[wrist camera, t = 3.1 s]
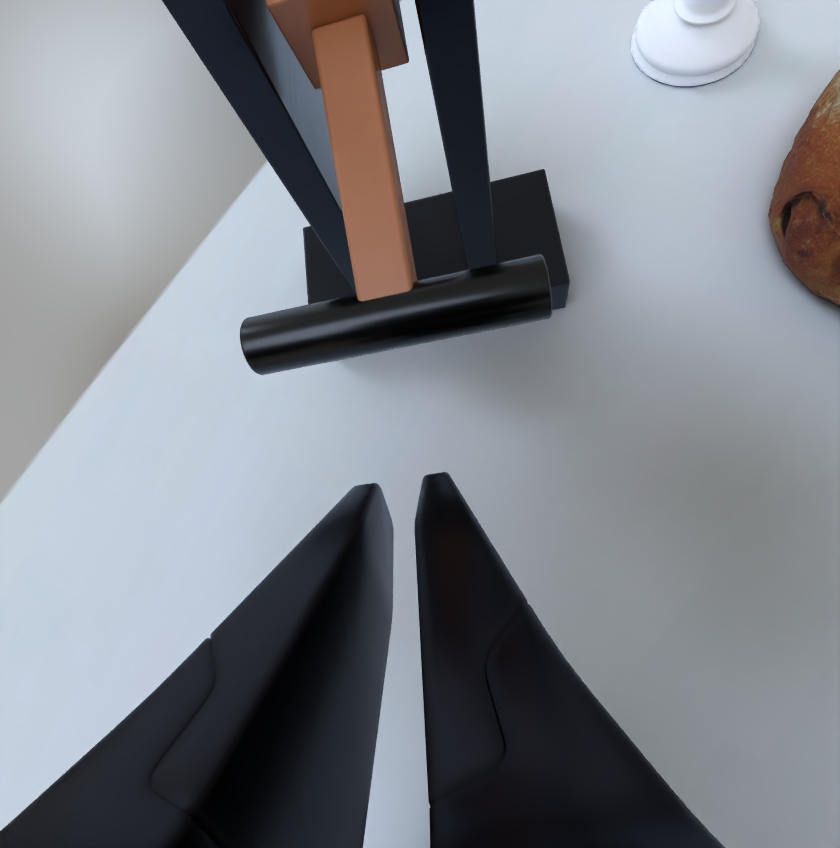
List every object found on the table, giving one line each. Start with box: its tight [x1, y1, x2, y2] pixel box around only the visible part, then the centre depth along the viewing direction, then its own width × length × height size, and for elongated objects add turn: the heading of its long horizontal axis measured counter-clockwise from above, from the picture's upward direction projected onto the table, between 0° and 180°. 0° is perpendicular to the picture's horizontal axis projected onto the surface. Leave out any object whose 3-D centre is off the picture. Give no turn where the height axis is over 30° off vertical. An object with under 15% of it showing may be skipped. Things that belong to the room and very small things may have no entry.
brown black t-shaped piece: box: [240, 0, 552, 375], centre depth 10 cm, size 9×6×2 cm, turn 7°
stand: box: [162, 0, 570, 310], centre depth 15 cm, size 5×10×14 cm, turn 97°
